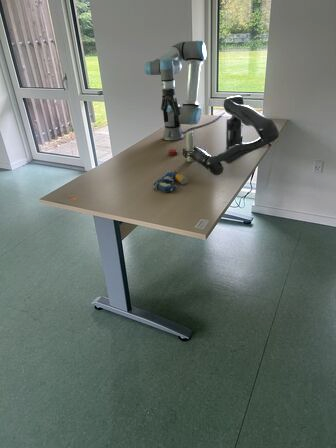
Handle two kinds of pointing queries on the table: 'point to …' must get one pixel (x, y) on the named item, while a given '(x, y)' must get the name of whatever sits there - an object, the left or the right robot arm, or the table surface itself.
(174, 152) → the lid
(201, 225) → the table surface
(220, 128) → the table surface
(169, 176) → the spray gun
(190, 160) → the bottle
